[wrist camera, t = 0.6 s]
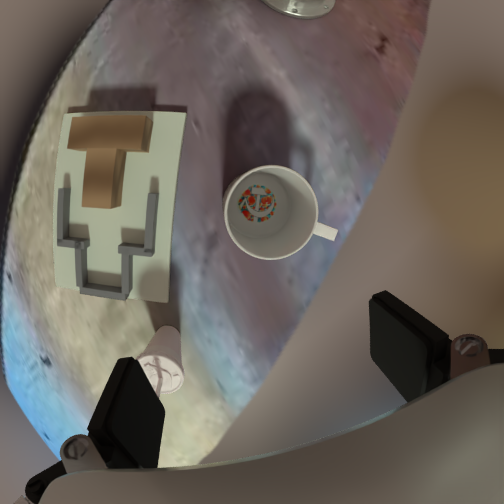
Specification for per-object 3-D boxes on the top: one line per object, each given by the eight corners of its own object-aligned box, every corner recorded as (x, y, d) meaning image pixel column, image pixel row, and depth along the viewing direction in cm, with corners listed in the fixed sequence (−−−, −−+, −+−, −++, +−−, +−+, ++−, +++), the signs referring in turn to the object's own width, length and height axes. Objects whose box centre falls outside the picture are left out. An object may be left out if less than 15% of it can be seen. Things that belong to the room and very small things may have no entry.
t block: (85, 122, 30) (72, 117, 26) (153, 122, 31) (146, 115, 27) (75, 203, 32) (61, 205, 28) (142, 207, 34) (134, 210, 30)
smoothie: (167, 360, 40) (153, 424, 27) (139, 331, 39) (112, 391, 25) (198, 340, 40) (193, 404, 27) (169, 309, 39) (151, 367, 25)
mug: (213, 225, 37) (211, 243, 26) (235, 160, 35) (243, 151, 24) (297, 253, 39) (326, 279, 28) (319, 192, 37) (357, 197, 26)
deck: (68, 115, 30) (57, 111, 27) (187, 115, 33) (184, 108, 30) (59, 283, 36) (49, 291, 32) (168, 299, 38) (165, 309, 35)
